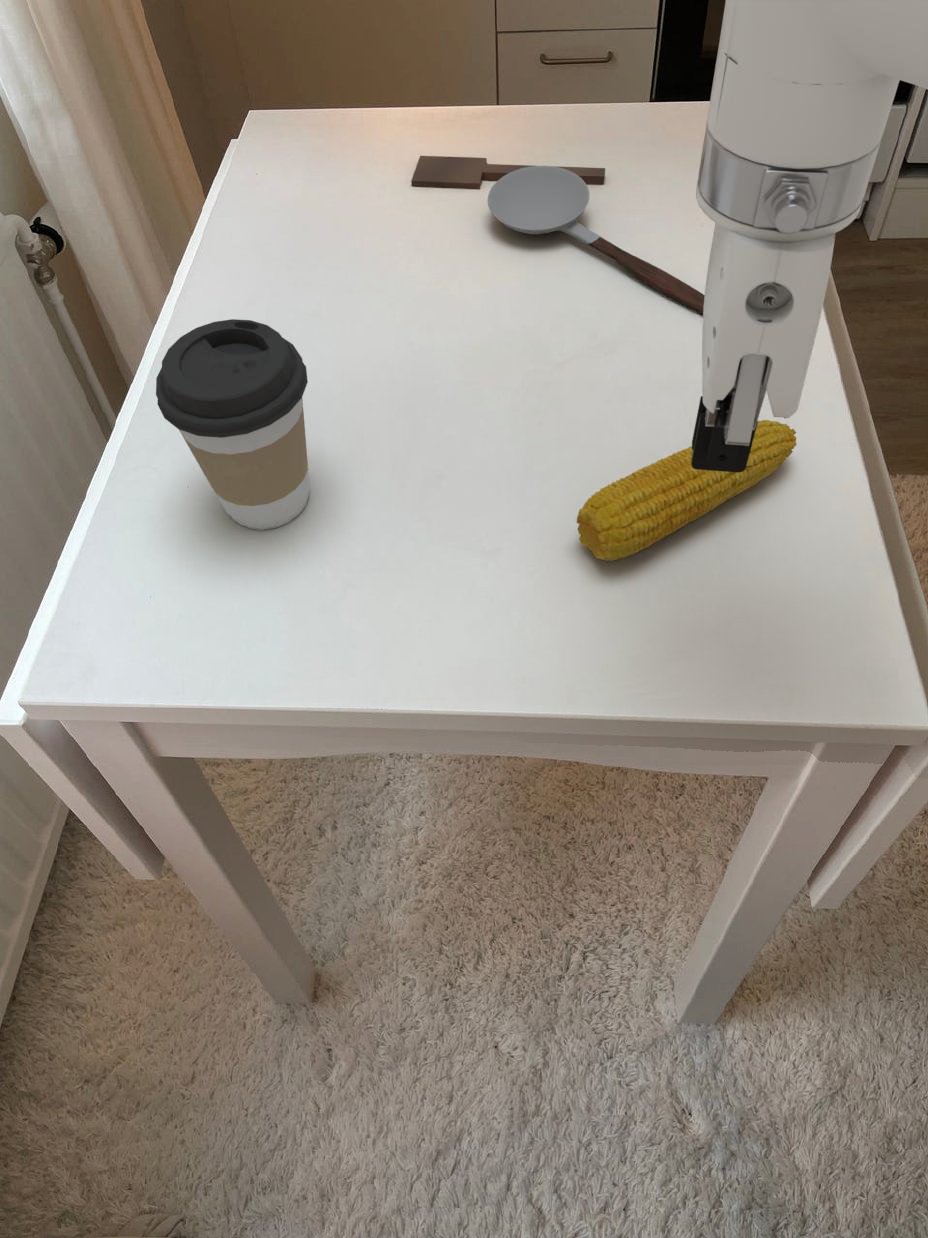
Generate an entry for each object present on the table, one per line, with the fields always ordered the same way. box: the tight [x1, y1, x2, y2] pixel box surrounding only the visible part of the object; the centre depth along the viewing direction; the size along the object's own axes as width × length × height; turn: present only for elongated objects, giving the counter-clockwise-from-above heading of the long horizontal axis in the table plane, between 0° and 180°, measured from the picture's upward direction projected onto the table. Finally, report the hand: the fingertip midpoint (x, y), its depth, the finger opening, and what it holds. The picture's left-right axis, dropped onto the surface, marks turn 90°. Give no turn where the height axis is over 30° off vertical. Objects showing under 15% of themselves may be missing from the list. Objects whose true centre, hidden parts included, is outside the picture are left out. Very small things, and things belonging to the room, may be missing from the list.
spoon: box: [487, 165, 705, 314], centre depth 99 cm, size 11×33×3 cm, turn 42°
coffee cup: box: [155, 318, 311, 531], centre depth 76 cm, size 11×11×15 cm
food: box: [576, 419, 797, 562], centre depth 77 cm, size 21×6×6 cm, turn 124°
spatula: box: [411, 155, 606, 190], centre depth 110 cm, size 22×6×1 cm, turn 81°
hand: (717, 458), depth 58 cm, fingers closed
